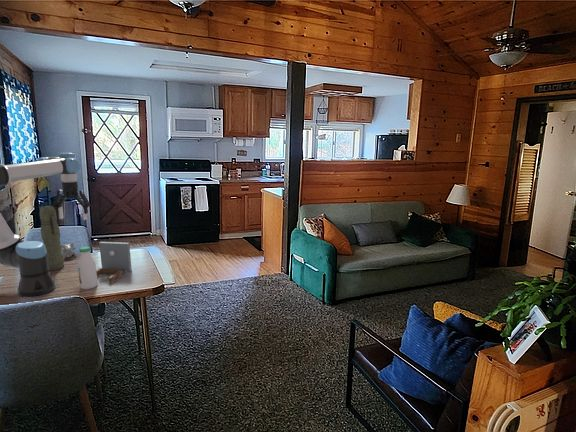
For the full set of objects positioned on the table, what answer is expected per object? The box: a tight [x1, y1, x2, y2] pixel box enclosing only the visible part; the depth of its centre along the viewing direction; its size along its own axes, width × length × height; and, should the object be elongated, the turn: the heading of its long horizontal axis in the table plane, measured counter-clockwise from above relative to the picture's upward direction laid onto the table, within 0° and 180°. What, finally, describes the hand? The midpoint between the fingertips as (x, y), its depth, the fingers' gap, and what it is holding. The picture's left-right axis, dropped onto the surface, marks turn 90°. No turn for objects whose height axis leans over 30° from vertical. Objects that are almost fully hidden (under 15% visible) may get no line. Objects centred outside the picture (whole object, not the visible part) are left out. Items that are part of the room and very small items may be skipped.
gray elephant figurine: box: [61, 242, 78, 260], centre depth 232 cm, size 9×12×8 cm
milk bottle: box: [77, 246, 98, 290], centre depth 186 cm, size 8×8×20 cm
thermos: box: [39, 205, 65, 271], centre depth 210 cm, size 9×12×35 cm
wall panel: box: [98, 241, 133, 273], centre depth 206 cm, size 4×16×16 cm, turn 84°
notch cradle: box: [96, 267, 125, 285], centre depth 198 cm, size 12×14×3 cm
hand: (73, 219), depth 213 cm, fingers open, 13 cm apart
